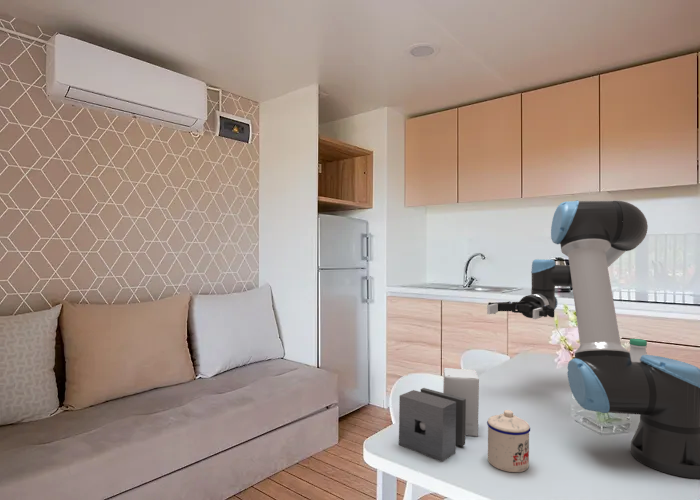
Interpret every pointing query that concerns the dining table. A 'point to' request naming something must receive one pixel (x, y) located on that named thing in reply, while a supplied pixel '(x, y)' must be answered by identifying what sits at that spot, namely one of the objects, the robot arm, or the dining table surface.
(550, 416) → the dining table surface
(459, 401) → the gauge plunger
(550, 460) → the dining table surface
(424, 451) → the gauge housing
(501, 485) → the dining table surface
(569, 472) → the dining table surface
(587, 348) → the robot arm
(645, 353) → the milk bottle
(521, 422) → the teacup with lid
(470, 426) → the supplement box
